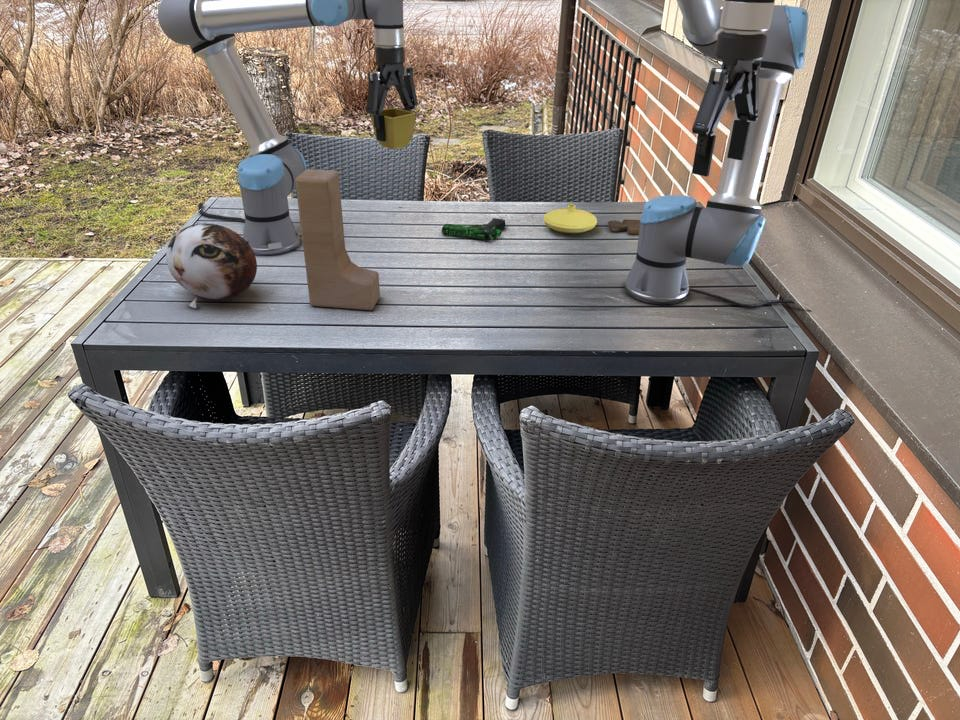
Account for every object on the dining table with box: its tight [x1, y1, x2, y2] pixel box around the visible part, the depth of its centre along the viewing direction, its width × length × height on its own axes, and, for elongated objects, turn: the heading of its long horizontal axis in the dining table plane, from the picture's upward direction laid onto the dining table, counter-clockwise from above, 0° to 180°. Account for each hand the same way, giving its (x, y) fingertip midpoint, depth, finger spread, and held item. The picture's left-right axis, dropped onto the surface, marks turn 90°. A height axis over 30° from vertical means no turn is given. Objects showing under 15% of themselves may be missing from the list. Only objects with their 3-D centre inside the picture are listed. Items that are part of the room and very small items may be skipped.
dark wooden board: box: [607, 219, 640, 235], centre depth 211 cm, size 26×2×10 cm
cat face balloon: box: [165, 222, 258, 309], centre depth 165 cm, size 22×18×20 cm
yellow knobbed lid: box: [543, 203, 598, 234], centre depth 209 cm, size 16×16×7 cm
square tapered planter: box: [370, 107, 417, 150], centre depth 191 cm, size 9×9×9 cm
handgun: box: [441, 217, 506, 242], centre depth 207 cm, size 16×3×15 cm
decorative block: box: [295, 168, 381, 311], centre depth 159 cm, size 8×15×30 cm, turn 82°
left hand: (394, 137), depth 192 cm, fingers closed on square tapered planter, 9 cm apart
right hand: (718, 166), depth 123 cm, fingers open, 13 cm apart
